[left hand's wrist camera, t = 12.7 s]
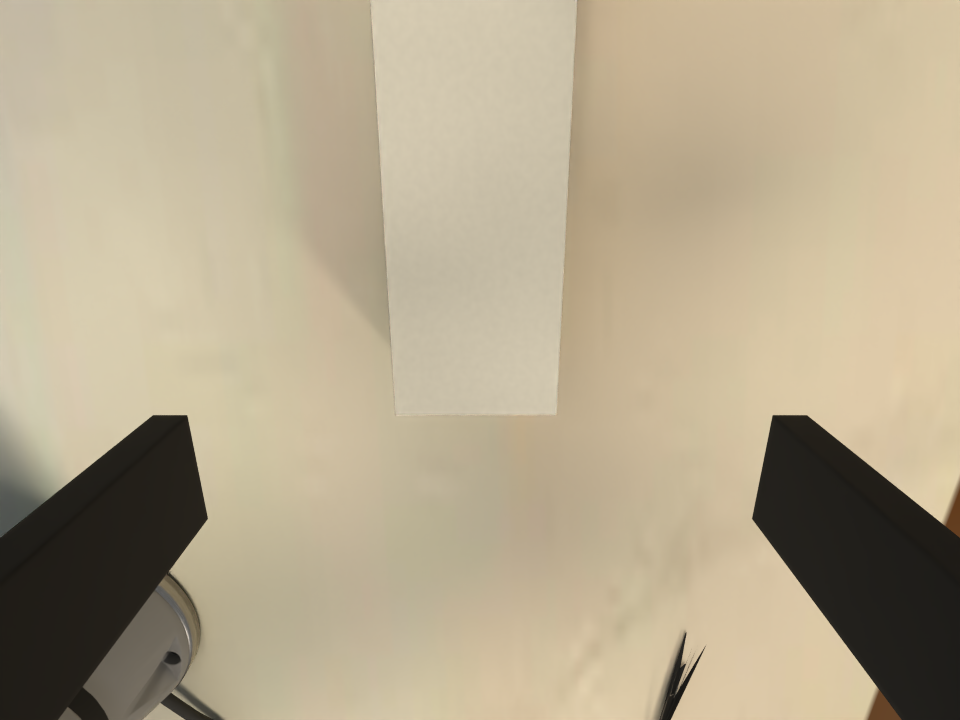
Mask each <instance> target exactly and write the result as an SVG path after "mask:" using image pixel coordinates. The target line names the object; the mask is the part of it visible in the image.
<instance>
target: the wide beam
mask: <svg viewBox="0 0 960 720" xmlns="http://www.w3.org/2000/svg"><path fill="white" fill-rule="evenodd" d="M370 7H371V23H372V40H373V57H374V73H375V90H376V107H377V123H378V140H379V157H380V173H381V190H382V207H383V224H384V240H385V257H386V274H387V290H388V307H389V324H390V340H391V357H392V374H393V390H394V407H395V415H557V400H558V380H559V360H560V340H561V320H562V300H563V280H564V260H565V240H566V220H567V200H568V180H569V160H570V140H571V120H572V100H573V80H574V60H575V40H576V20H577V0H370Z"/></svg>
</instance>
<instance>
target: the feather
mask: <svg viewBox="0 0 960 720" xmlns="http://www.w3.org/2000/svg"><path fill="white" fill-rule="evenodd" d="M686 633H687V632H686ZM686 633H685V636H683V637H684V639H683V643H682V646H681V650H680V653H679V656H678V660H677V663H676V666H675V667H674V668H675V670H674V673H673V674H672V675H673V677H672V680H671V681H670V682H671V683H670V687H669V690H668V694H667V697H666V700H665V704H664V705H663V706H664V707H663V710H662V712H661V713H662V714H661V717H660V719H659V720H671V718H672V716H673V714H674V712H675V709H676V707H677V705H678V703H679V701H680V699H681V697H682V695H683V693H684V691H685V688H686V686H687V684H688V682H689V680H690V678H691V676H692V674H693V672H694V670H695V668H696V665H697V663H698V661H699V659H700V657H701V655H702V653H703V651H704V649H705V648H704V649H703V651H702V652H701V654H700V656H699V657H698V659H697V661H696V662H695V664H694V666H693V667H692V669H691V671H690V672H689V674H688V676H687V677H686V679H685V681H684V682H683V681H682V682H683V684H681V686H680V688H679V690H678V692H677V689H678V686H679V685H678V684H679V682H680V679H681V676H682V673H683V671H684V668H685V665H686V664H684V665H683V666H682V667H681V668H680V666H681V660H682V655H683V649H684V644H685V638H686ZM689 655H690V654H689ZM693 656H694V655H693ZM691 661H692V660H691ZM686 663H687V662H686ZM690 663H691V662H690ZM688 668H689V667H688ZM686 673H687V672H686ZM685 675H686V674H685ZM683 680H684V679H683ZM676 693H677V694H676Z"/></svg>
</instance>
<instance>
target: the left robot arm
mask: <svg viewBox="0 0 960 720" xmlns="http://www.w3.org/2000/svg"><path fill="white" fill-rule="evenodd" d="M207 519H208V517H207V512H206V507H205V502H204V497H203V492H202V487H201V482H200V477H199V472H198V467H197V462H196V457H195V452H194V447H193V442H192V437H191V432H190V427H189V422H188V417H187V415H153V416H152V417H150V418H149V419H148V420H147V421H145V422H144V423H143V424H142V425H140V426H139V427H138V428H137V429H135V430H134V431H133V432H132V433H130V434H129V435H128V436H127V437H125V438H124V439H123V440H122V441H120V442H119V443H118V444H117V445H115V446H114V447H113V448H112V449H110V450H109V451H108V452H107V453H106V454H104V455H103V456H102V457H101V458H99V459H98V460H97V461H96V462H94V463H93V464H92V465H91V466H89V467H88V468H87V469H86V470H84V471H83V472H82V473H81V474H79V475H78V476H77V477H76V478H74V479H73V480H72V481H71V482H69V483H68V484H67V485H66V486H64V487H63V488H62V489H61V490H59V491H58V492H57V493H56V494H54V495H53V496H52V497H51V498H49V499H48V500H47V501H46V502H44V503H43V504H42V505H41V506H39V507H38V508H37V509H36V510H34V511H33V512H32V513H31V514H29V515H28V516H27V517H26V518H24V519H23V520H22V521H21V522H19V523H18V524H17V525H16V526H14V527H13V528H12V529H11V530H9V531H8V532H7V533H6V534H4V535H3V536H2V537H1V538H0V720H142V719H144V718H145V717H146V716H147V715H148V714H149V713H150V712H151V711H152V710H153V709H154V708H155V707H156V706H157V705H158V704H159V703H161V704H163V705H164V706H166V707H167V708H169V709H170V710H172V711H173V712H175V713H176V714H178V715H179V716H181V717H182V718H184V719H185V720H213V719H211V718H209V717H207V716H205V715H204V714H202V713H200V712H198V711H197V710H195V709H194V708H192V707H191V706H189V705H188V704H186V703H185V702H183V701H182V700H180V699H179V698H177V697H176V696H175V695H173V694H172V693H171V692H172V691H173V690H174V689H175V688H176V687H177V686H178V684H179V683H180V682H181V680H182V679H183V678H184V676H185V674H186V672H187V671H188V669H189V667H190V665H191V663H192V662H193V660H194V658H195V656H196V654H197V651H198V648H199V643H200V626H199V621H198V617H197V615H196V612H195V609H194V607H193V605H192V603H191V602H190V600H189V598H188V597H187V595H186V594H185V593H184V591H183V590H182V589H181V588H180V587H179V585H178V584H177V583H176V582H175V581H174V580H173V579H172V578H171V577H169V576H168V575H167V573H168V572H169V570H170V569H171V568H172V566H173V565H174V564H175V562H176V561H177V560H178V558H179V557H180V555H181V554H182V553H183V551H184V550H185V549H186V547H187V546H188V545H189V543H190V542H191V541H192V539H193V538H194V537H195V535H196V534H197V533H198V531H199V530H200V529H201V527H202V526H203V525H204V523H205V522H206V521H207ZM752 519H753V521H754V522H755V523H756V525H757V526H758V527H759V529H760V530H761V531H762V533H763V534H764V535H765V537H766V538H767V539H768V541H769V542H770V543H771V545H772V546H773V547H774V549H775V550H776V551H777V553H778V554H779V555H780V557H781V558H782V560H783V561H784V562H785V564H786V565H787V566H788V568H789V569H790V570H791V572H792V573H793V574H794V576H795V577H796V578H797V580H798V581H799V582H800V584H801V585H802V586H803V588H804V589H805V590H806V592H807V593H808V594H809V596H810V597H811V598H812V600H813V601H814V602H815V604H816V605H817V607H818V608H819V609H820V611H821V612H822V613H823V615H824V616H825V617H826V619H827V620H828V621H829V623H830V624H831V625H832V627H833V628H834V629H835V631H836V632H837V633H838V635H839V636H840V637H841V639H842V640H843V641H844V643H845V644H846V645H847V647H848V648H849V649H850V651H851V652H852V654H853V655H854V656H855V658H856V659H857V660H858V662H859V663H860V664H861V666H862V667H863V668H864V670H865V671H866V672H867V674H868V675H869V676H870V678H871V679H872V680H873V682H874V683H875V684H876V686H877V687H878V688H879V690H880V691H881V692H882V694H883V695H884V696H885V698H886V699H887V700H888V702H889V703H890V705H891V706H892V707H893V709H894V710H895V711H896V713H897V714H898V715H899V717H900V718H901V719H902V720H960V538H959V537H958V536H957V535H956V534H954V533H953V532H952V531H951V530H949V529H948V528H947V527H946V526H944V525H943V524H942V523H941V522H939V521H938V520H937V519H936V518H934V517H933V516H932V515H931V514H929V513H928V512H927V511H926V510H924V509H923V508H922V507H921V506H919V505H918V504H917V503H916V502H914V501H913V500H912V499H911V498H909V497H908V496H907V495H906V494H904V493H903V492H902V491H901V490H899V489H898V488H897V487H896V486H894V485H893V484H892V483H891V482H889V481H888V480H887V479H886V478H884V477H883V476H882V475H881V474H879V473H878V472H877V471H876V470H874V469H873V468H872V467H871V466H869V465H868V464H867V463H866V462H864V461H863V460H862V459H861V458H859V457H858V456H857V455H856V454H854V453H853V452H852V451H851V450H850V449H848V448H847V447H846V446H845V445H843V444H842V443H841V442H840V441H838V440H837V439H836V438H835V437H833V436H832V435H831V434H830V433H828V432H827V431H826V430H825V429H823V428H822V427H821V426H820V425H818V424H817V423H816V422H815V421H813V420H812V419H811V418H810V417H808V416H807V415H773V417H772V422H771V427H770V432H769V437H768V442H767V447H766V452H765V457H764V462H763V467H762V472H761V477H760V482H759V487H758V492H757V497H756V502H755V507H754V512H753V517H752Z"/></svg>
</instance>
